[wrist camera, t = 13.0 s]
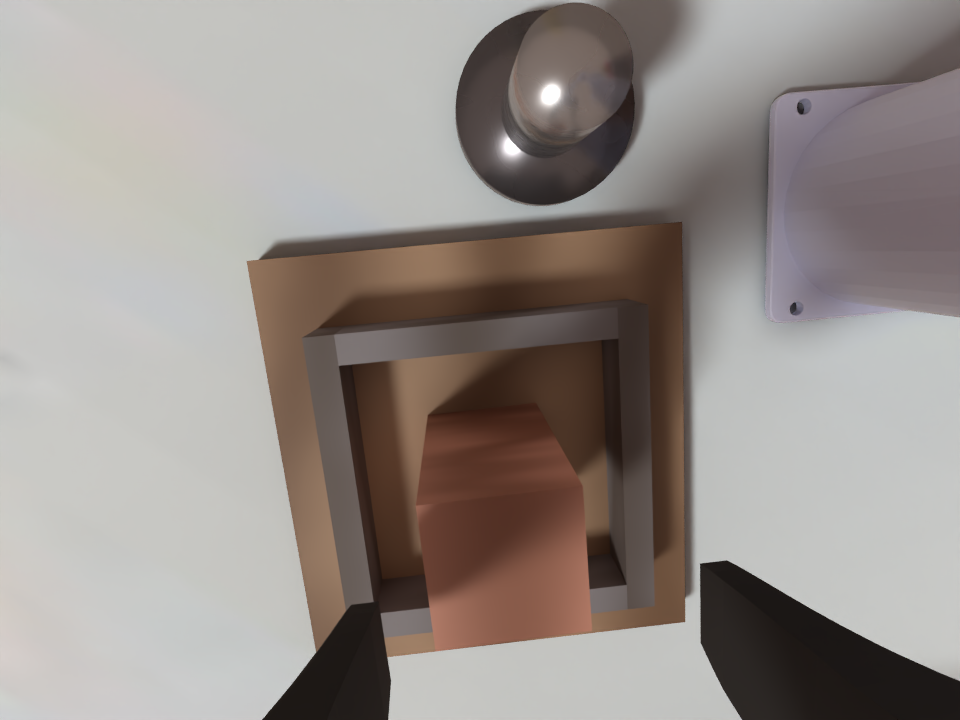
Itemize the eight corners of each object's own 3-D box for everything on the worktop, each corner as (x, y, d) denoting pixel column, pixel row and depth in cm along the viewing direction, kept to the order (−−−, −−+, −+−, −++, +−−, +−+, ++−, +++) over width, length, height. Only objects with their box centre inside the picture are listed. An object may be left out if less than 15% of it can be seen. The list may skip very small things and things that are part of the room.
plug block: (536, 402, 19) (583, 486, 13) (544, 502, 20) (592, 631, 13) (427, 415, 19) (416, 505, 12) (440, 514, 20) (435, 651, 13)
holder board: (670, 223, 19) (709, 218, 16) (675, 606, 23) (708, 658, 20) (257, 260, 19) (221, 262, 16) (324, 646, 22) (305, 707, 19)
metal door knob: (624, 14, 18) (689, -75, 13) (629, 198, 19) (691, 181, 14) (447, 27, 18) (446, -58, 13) (464, 213, 19) (469, 200, 14)
